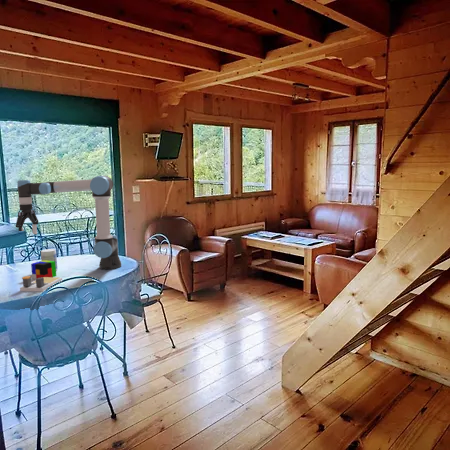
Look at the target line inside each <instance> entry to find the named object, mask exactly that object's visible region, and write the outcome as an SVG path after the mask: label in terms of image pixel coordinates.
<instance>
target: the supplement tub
mask: <svg viewBox="0 0 450 450" xmlns="http://www.w3.org/2000/svg"><path fill="white" fill-rule="evenodd" d="M40 259H41V260H40V261H43V260H46V261H55V265H56V272H57V271H58V259H57V251H56V249H55V248H49V249H48V248H47V249H46V248H45V249H43V250H40Z"/></svg>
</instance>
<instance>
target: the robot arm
mask: <svg viewBox="0 0 450 450" xmlns="http://www.w3.org/2000/svg"><path fill="white" fill-rule="evenodd" d="M16 183H17V194H18V203H19V211H21V212H19V211H18V212H17V218H16V223H15V228H16V229H18V232H19V231H24V227H23V226H24V224H25V221H26V220H27V219H29V221H30V222H31V229H32V235H38V229H37V228H38V227H37V225H39V219H38V217H37V215H36V210H35V209H33V204H32V203H33V198H32V196H33V195H49V194H55V193H56V194H57V193H69V192H71V193H72V192H86V191H87V192H89V191H91V193H92V198H93V199H94V207H95V208H94V209H95V224H96V236H95V237H94V246H93V253H94V254H95V256H97V258H99V259H100V261H99V265H98V267H99V269H100V270H115V269H119V268H121V267H122V261H121V259H120V256H119V244H118V240H119V239H118V235H115V234H111V221H110V220H111V219H110V202H109V201H110V198H111V197H112V194H111V193H112V189H113V188H114V182H113V180H112V178H111V177H110V176H108V175H97V176H94V177H93V178H91V179H75V180H74V179H73V180H60V181H46V182H45V181H43V182H31V180H30V179H18V180H17V182H16Z"/></svg>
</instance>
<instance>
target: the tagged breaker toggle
mask: <svg viewBox="0 0 450 450" xmlns="http://www.w3.org/2000/svg"><path fill="white" fill-rule="evenodd" d="M31 282H32V275H29V276H28V275H26V276H23V277H22V284H23V285H22V287H23V286H24V287H28V286H30V285H31Z"/></svg>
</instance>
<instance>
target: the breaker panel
mask: <svg viewBox="0 0 450 450" xmlns="http://www.w3.org/2000/svg"><path fill="white" fill-rule="evenodd" d="M41 278H42V277H41ZM43 278H44V286H42V287H36V279H34V280H33V281H31V285H30V286H28V287H24V286H23V285H22V286H21V287H19V291H20V292H45V291H47V290H48V289H47V288H48V287H50V286H52V285H53V284H55V283H57V282H59V281H61V280H62V281H63V277H57V276H55V277H43ZM62 281H61V282H62ZM59 283H60V282H59ZM52 287H53V286H52ZM50 288H51V287H50ZM46 289H47V290H46ZM44 290H45V291H44Z"/></svg>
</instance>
